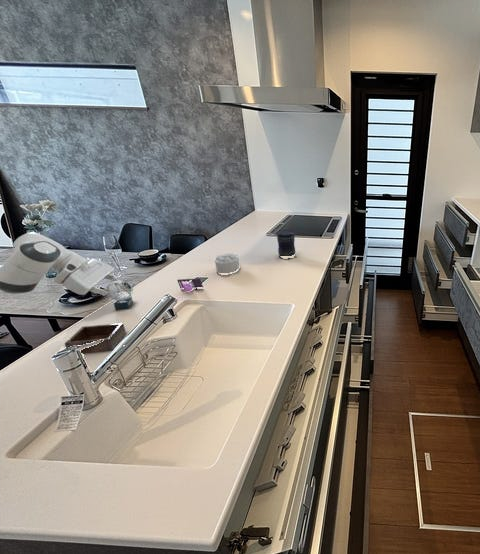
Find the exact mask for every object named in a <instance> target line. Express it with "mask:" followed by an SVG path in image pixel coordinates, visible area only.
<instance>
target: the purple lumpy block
mask: <svg viewBox="0 0 480 554" xmlns="http://www.w3.org/2000/svg"><path fill="white" fill-rule="evenodd" d="M176 281H177V283H178V285H179V288H180V291H181V292H186V291H190V290H192V289H193V287H194V289H195V287H203V288H204V285H203V283H202V280H201V278H200V277H198V278H182V279H181V278H178V279H177V280H176ZM190 281H191V282H192V285H193V287H192V285H191V284H190V283H187V282H190ZM183 282H184V283H183ZM181 288H182V289H181ZM183 288H184V289H183ZM192 291H193V290H192ZM194 291H198V290H197V288H196V289H195V290H194Z"/></svg>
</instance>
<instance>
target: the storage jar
mask: <svg viewBox="0 0 480 554" xmlns="http://www.w3.org/2000/svg"><path fill="white" fill-rule="evenodd" d="M276 239H277V245H278V247H277V248H278V250H277V252H278V256H279V255H280V256H292V255H294V254H295V255H296V247H295V241H296V240H295V231H294V230H290V229H282V230H278V231H277V232H276Z"/></svg>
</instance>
